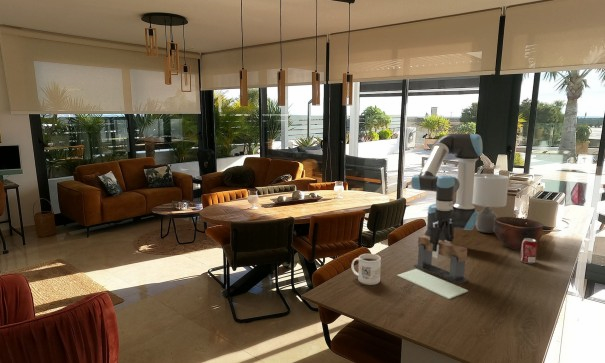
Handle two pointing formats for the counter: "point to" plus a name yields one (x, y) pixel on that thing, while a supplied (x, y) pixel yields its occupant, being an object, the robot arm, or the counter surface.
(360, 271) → the mug
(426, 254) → the rack
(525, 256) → the soda can
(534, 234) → the bowl
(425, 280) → the mat
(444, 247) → the rail
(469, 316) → the counter surface
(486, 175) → the lamp
